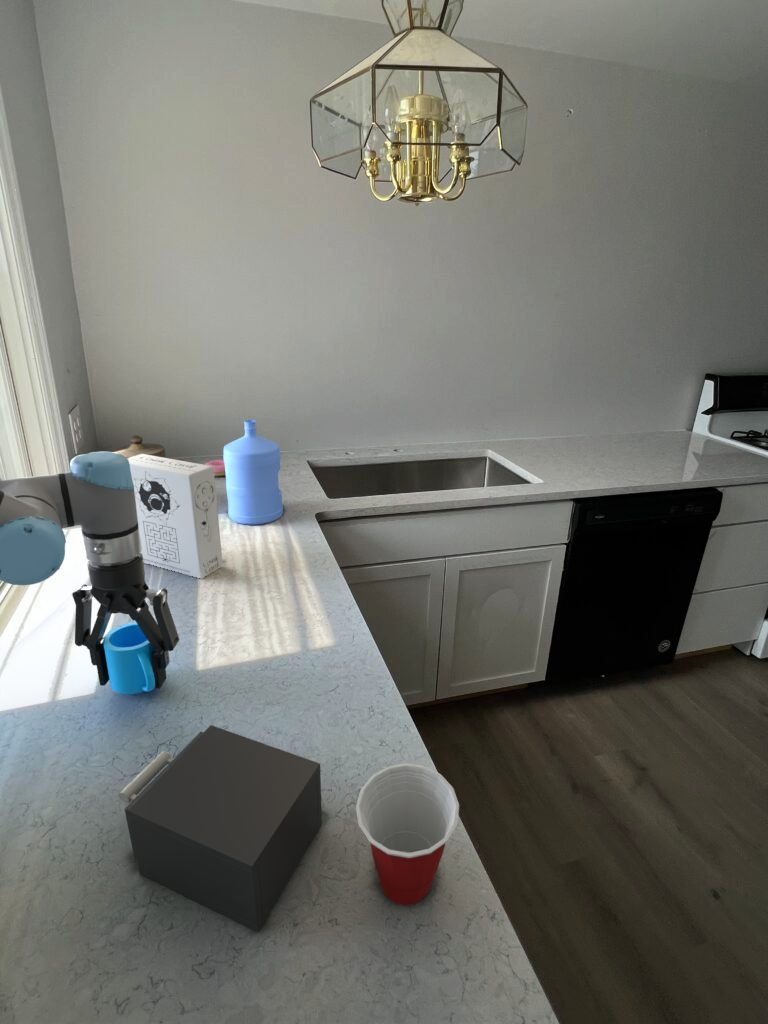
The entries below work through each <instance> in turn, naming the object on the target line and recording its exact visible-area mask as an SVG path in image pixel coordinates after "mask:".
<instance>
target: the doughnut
mask: <svg viewBox="0 0 768 1024" xmlns="http://www.w3.org/2000/svg"><path fill="white" fill-rule="evenodd" d="M204 465H208V466H213V468H214V478H215V477H217V478H218V477H219V476H220V477H226V474H225V463H224V459H214V460H210V461H207V462H205V463H204Z"/></svg>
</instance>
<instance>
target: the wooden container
mask: <svg viewBox="0 0 768 1024" xmlns="http://www.w3.org/2000/svg"><path fill="white" fill-rule="evenodd" d="M143 440H144V439H143V437H142V436H140V435H133V436H131V437H130V438H129V442H130V444H126V445H121V446H117V447H114V448H112V449H111V450H109V452H115V453H119V454H121V455H123V456H125V457H126V458H130V457H133V456H136V455H140V454H146V455H152V456H157V457H163V458H167V456H166V449H165V447H164V446H163V445H161V444H158V443H143Z"/></svg>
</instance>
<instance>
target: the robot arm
mask: <svg viewBox="0 0 768 1024" xmlns="http://www.w3.org/2000/svg"><path fill="white" fill-rule="evenodd" d="M69 464H70V467H69V471H65V472H63V473H53V474H44V475H34V476H23V477H15V478H14V477H13V478H6V479H5V478H0V581H2V582H4V583H5V584H9V585H14V586H31V585H36V584H39V583H42V582H44V581H46V580H49V578H51V577H53V575H54V574H55V573H57V571H59V570H60V569H61V566H62V564H63V562H64V560H65V555H66V543H67V540H66V535H65V532H64V530H63V529H68V528H73V527H77V526H80V528H81V529H80V530H81V535H82V540H83V545H84V551H85V557H86V559H87V564H86V565H87V570H88V571H87V572H88V576H89V583H90V584H91V586H89V585H87V584H85V583H83V584H81V585H80V586H79V587H77V588H76V589H75V590H74V591H73V592H72V593H71V596H72V598H73V601H74V604H75V619H74V621H75V623H74V644H75V646H77V647H82V646H84V647H86V649H87V650H88V651H89V657H90V663H91V664H92V666H96V669H97V675H98V681H99V686H103V687H105V686H106V685H107V683H108V682H110V680H109V674H108V668H107V662H106V656H105V650H104V644H103V639H104V637H105V633H106V630H107V628H108V625H109V622H110V620H111V617H112V614H123V615H128V616H129V618H130V619H131V620H132V621H135V622H136V623H137V624H138V626H139V627H140V629H141V630H142V632H143V633H144V635H145V636H146V638H147V640H148V641H149V643H150V644H151V646H152V647H153V649H154V651H153V652H152V654H151V661H152V668H153V673H154V678H155V686H154V689H156V690H160V689H161V688H162V686H163V685H164V683H165V681H166V680H167V677H168V676H167V670H166V669H167V668H168V666H169V664H170V662H171V661H170V653H169V652H172V651H174V649H175V648H176V646H177V645H178V643H179V642H180V636H179V633H178V631H177V627H176V625H175V621H174V618H173V616H172V613H171V609H170V607H169V604H168V596H169V595H168V593H169V591H168V589H166V588H164V587H162V588H160V589H159V590H157V589H152V588H149V586H148V584H147V583H146V570H145V563H143V556H142V554H141V553H140V552H141V551H142V546H141V540H140V533H139V527H138V518H137V510H136V501H135V492H134V484H133V480H132V475H131V470H130V464H129V461H128V459H127V458H126V457H125V456H123V455H121V454H119V453H115V452H110V451H93V452H88V453H82V454H79V455H76V456H74V457H73V458H72V459H71V460H70V463H69ZM93 598H94V599H95V600H96V601H97V602H98V603H99V608H98V610H97V613H96V619H95V621H94V624H93V627H92V613H93V612H92V611H93V610H92V609H93ZM146 598H147V599H148V600H149V604H148V602H147V601H146V600H145V599H146ZM149 605H150V606H152V611H153V614H154V616H153V615H152V613H151V612H150V606H149ZM154 617H155V618H154Z"/></svg>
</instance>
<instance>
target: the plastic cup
mask: <svg viewBox="0 0 768 1024" xmlns="http://www.w3.org/2000/svg"><path fill="white" fill-rule="evenodd" d="M355 811H356V816H357V824H358V827H359V829H360V830H361V831H362V833H363V834H364V835H365V836H366V838H367V840H368V841H369V844H370V845H369V846H370V848H371V854H372V857H373V862H374V867H375V870H376V871H375V872H377V877H378V881H379V882H378V883H379V887H381V890H382V892H383V893H384V895H385V896H386V898H388V899H389V900H390V901H392V902H393V903H395V904H397V905H401V906H412V905H416V904H418V903H419V902H421V901H422V900H424V899H425V897H426V896H427V894H428V893H429V891H430V889H431V888H432V886H433V881H434V879H435V876H436V874H437V872H438V869H439V866H440V863H441V859H442V858H443V857H442V856H443V854H444V850H445V847H446V845H447V843H448V841H449V839H450V837H451V836H452V834H453V832H454V831H455V829H456V827H457V826H458V823H459V811H460V803H459V801H458V797H457V795H456V792H455V788H454V786H452V785H451V784H450V783H449V782H448V781H447V779H446V778H445V777H444V776H443V775H442V774H441V773H439V772H437V771H436V770H434V769H432V768H430V767H428V766H426V765H422V764H415V763H408V762H405V763H404V762H403V763H399V764H394V765H389V766H385V767H383V768H382V769H381V770H379V771H377V772H375V773H374V774H372V775H371V776H370V777H369V779H368V780H367V781H366V782H365V784H364V785H363V786H362V787H361V788H360V791H359V795H358V798H357V802H356V804H355ZM420 900H421V901H420ZM417 902H418V903H417ZM411 904H412V905H411Z"/></svg>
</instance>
